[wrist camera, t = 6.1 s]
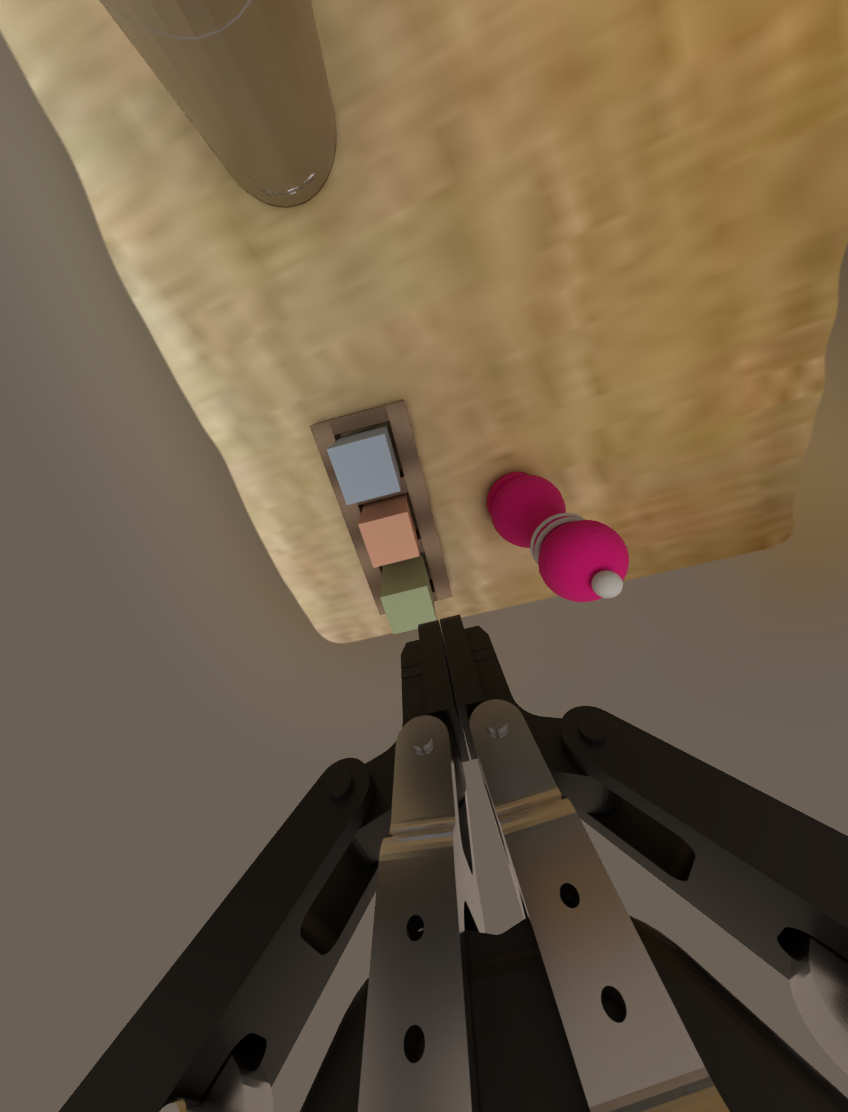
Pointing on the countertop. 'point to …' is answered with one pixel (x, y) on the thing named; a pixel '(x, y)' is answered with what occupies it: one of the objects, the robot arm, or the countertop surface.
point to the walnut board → (409, 482)
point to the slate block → (365, 465)
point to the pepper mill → (558, 538)
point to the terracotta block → (389, 530)
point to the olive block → (407, 594)
